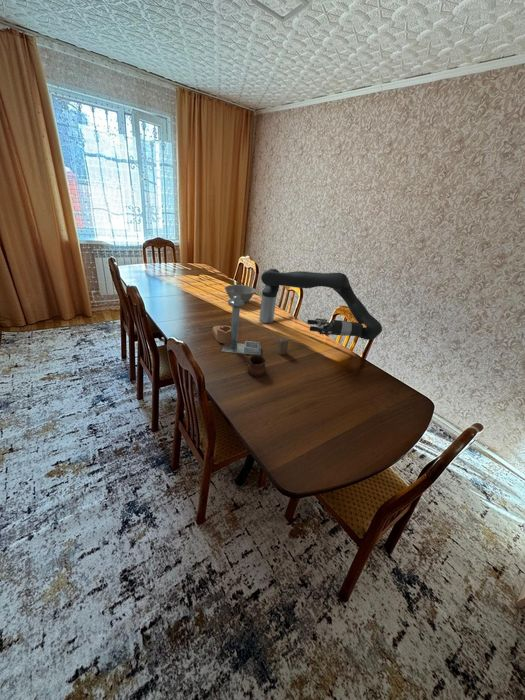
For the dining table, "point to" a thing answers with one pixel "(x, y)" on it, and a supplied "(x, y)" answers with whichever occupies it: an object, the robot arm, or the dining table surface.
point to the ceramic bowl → (240, 292)
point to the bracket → (222, 333)
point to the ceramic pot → (256, 366)
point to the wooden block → (282, 346)
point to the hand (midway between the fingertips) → (308, 325)
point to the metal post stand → (233, 346)
